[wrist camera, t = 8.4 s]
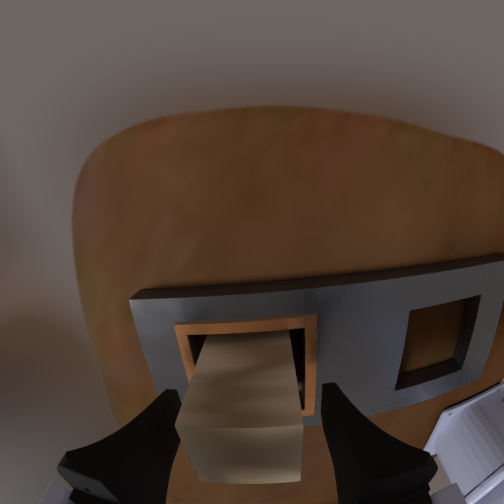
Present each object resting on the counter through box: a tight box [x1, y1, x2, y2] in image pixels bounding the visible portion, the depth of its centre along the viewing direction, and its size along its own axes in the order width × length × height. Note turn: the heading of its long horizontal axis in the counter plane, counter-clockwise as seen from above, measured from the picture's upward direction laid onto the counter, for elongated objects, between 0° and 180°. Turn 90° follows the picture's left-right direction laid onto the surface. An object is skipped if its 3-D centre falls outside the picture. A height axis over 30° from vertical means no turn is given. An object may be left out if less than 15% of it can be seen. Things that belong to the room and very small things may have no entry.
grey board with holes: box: [129, 254, 504, 427], centre depth 15 cm, size 24×10×2 cm, turn 96°
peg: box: [175, 329, 303, 484], centre depth 12 cm, size 4×4×8 cm
